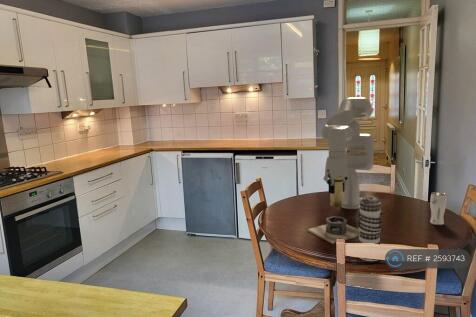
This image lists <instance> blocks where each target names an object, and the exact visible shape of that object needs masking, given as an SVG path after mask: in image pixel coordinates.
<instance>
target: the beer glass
mask: <svg viewBox="0 0 476 317" xmlns="http://www.w3.org/2000/svg"><path fill="white" fill-rule="evenodd" d="M429 203H430V204H429V205H430V206H429V207H430V211H431V212H430V213H431V214H430V220H429V222H430V224H432V225H436V226H443V225H444V224H445V222H444V215H445V211H446V207H447V193H444V192H440V191H439V192H438V191H437V192H436V191H434V192H431V195H430V200H429Z"/></svg>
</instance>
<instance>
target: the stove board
mask: <svg viewBox="0 0 476 317" xmlns="http://www.w3.org/2000/svg"><path fill="white" fill-rule="evenodd" d="M336 222H337V223H340V222H341V221H340V220H337V221H336ZM326 225H327V224H321V225H318V226H315V227H311V228H308V229H307V232H309V233H310V234H313V235H314V236H317V237H319V238H321V239H323V240H325V241H326V242H328V243H331V245H334V244H337V243H336V239H337V238H342V239H345V241H348V240H351V239H352V240H353V239H355V238H359V235H360V230H359V228H357V227H354V226H351V225H349V224H347V225H345V226H347V232H346V233H345V234H341V235H336V234H330V233H328V232H326ZM332 229H336V230H340V228H332Z"/></svg>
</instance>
